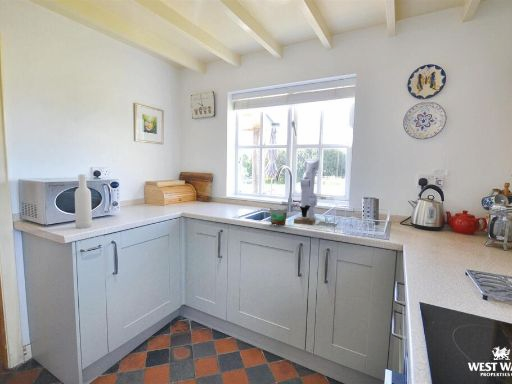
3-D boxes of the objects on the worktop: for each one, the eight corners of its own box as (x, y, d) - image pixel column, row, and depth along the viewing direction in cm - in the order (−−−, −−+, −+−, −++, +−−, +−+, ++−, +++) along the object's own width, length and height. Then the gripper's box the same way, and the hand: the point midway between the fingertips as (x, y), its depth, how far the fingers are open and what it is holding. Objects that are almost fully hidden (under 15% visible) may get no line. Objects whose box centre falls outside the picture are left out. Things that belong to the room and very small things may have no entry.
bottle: (74, 226, 149) (72, 174, 146) (89, 224, 154) (88, 174, 152) (77, 229, 143) (75, 174, 141) (94, 227, 149) (92, 174, 147)
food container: (265, 224, 167) (266, 208, 166) (269, 222, 172) (270, 207, 171) (283, 226, 161) (284, 210, 160) (287, 224, 166) (287, 209, 166)
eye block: (297, 220, 184) (297, 216, 183) (314, 221, 179) (315, 217, 179) (293, 222, 172) (294, 219, 172) (312, 224, 168) (312, 220, 168)
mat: (319, 221, 181) (319, 220, 181) (337, 222, 177) (337, 222, 177) (317, 224, 168) (317, 224, 168) (336, 226, 164) (336, 226, 164)
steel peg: (302, 221, 178) (302, 210, 177) (308, 222, 177) (308, 210, 176) (301, 222, 175) (301, 210, 175) (307, 222, 174) (307, 211, 173)
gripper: (301, 195, 183) (301, 214, 184) (297, 197, 169) (296, 217, 170) (311, 195, 180) (311, 215, 181) (308, 197, 167) (307, 218, 168)
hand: (304, 216), depth 176 cm, fingers open, 4 cm apart
